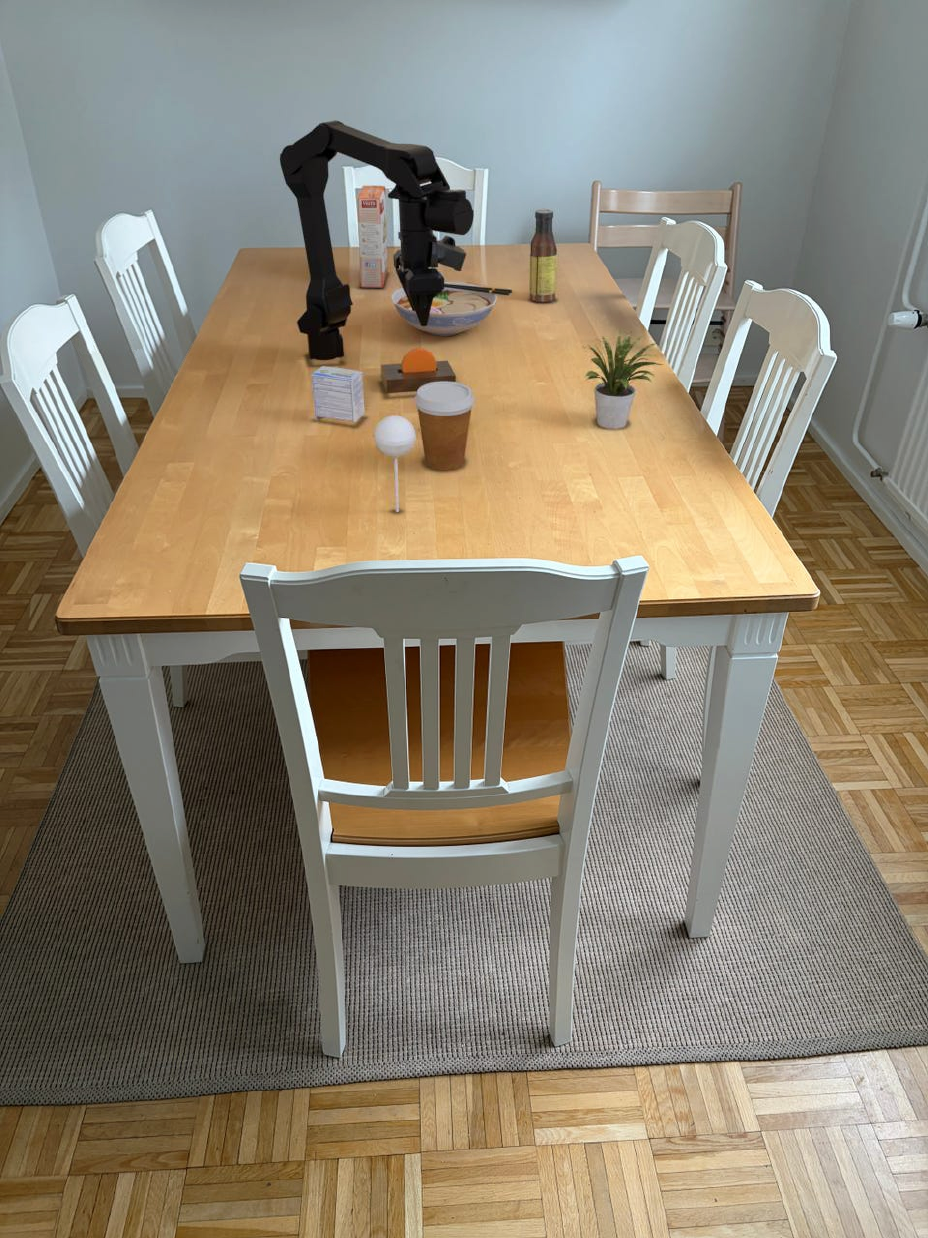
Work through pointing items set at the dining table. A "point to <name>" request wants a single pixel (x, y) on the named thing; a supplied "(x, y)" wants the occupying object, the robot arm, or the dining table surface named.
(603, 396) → the house plant
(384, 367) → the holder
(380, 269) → the cracker box
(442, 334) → the ramen bowl
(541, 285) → the sauce bottle
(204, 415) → the dining table surface
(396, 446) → the lollipop
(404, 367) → the token
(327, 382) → the medicine box
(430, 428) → the disposable coffee cup
